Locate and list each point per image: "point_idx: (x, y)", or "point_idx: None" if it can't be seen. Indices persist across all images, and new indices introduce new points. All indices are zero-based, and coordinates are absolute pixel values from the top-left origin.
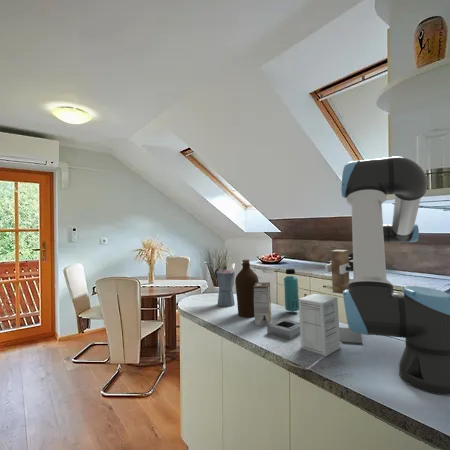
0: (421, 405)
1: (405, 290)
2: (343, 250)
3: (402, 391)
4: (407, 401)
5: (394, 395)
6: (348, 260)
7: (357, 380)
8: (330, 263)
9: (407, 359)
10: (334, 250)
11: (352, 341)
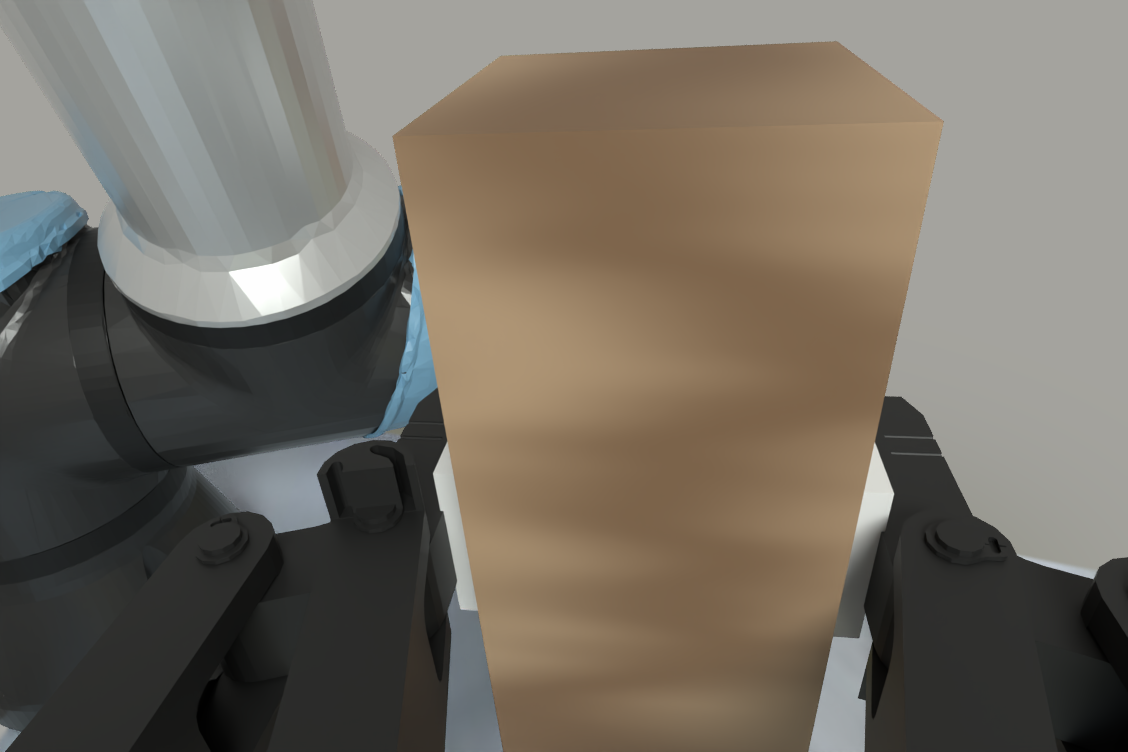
0: (245, 458)
1: (72, 202)
2: (535, 92)
3: (282, 493)
4: (281, 458)
5: (313, 466)
6: (453, 474)
7: None
8: (1083, 616)
9: (212, 486)
10: (819, 67)
11: None
